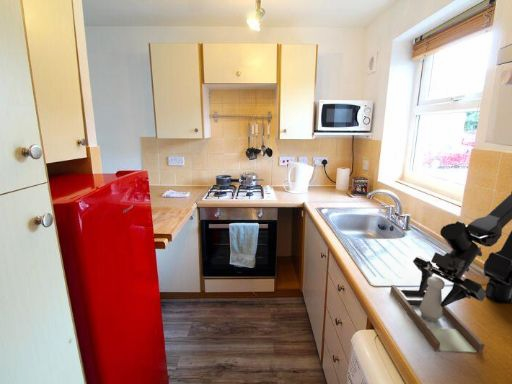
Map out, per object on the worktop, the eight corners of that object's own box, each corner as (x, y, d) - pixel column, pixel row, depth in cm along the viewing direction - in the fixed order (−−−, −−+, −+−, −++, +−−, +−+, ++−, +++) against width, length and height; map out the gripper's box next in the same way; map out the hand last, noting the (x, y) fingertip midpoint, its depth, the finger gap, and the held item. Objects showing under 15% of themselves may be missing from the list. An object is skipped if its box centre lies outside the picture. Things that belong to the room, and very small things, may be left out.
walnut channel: (425, 292, 96) (426, 285, 96) (482, 352, 71) (484, 344, 71) (390, 291, 97) (391, 285, 96) (434, 351, 72) (436, 342, 71)
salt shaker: (432, 311, 87) (439, 273, 84) (445, 323, 81) (453, 284, 78) (414, 311, 87) (420, 273, 84) (425, 324, 81) (433, 284, 78)
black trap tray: (423, 294, 95) (424, 289, 95) (433, 306, 89) (434, 300, 89) (396, 294, 95) (397, 288, 95) (405, 305, 90) (406, 299, 89)
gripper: (421, 232, 88) (391, 271, 86) (489, 258, 72) (454, 306, 70) (433, 250, 93) (405, 287, 92) (499, 278, 77) (467, 324, 75)
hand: (430, 299), depth 82 cm, fingers open, 6 cm apart
